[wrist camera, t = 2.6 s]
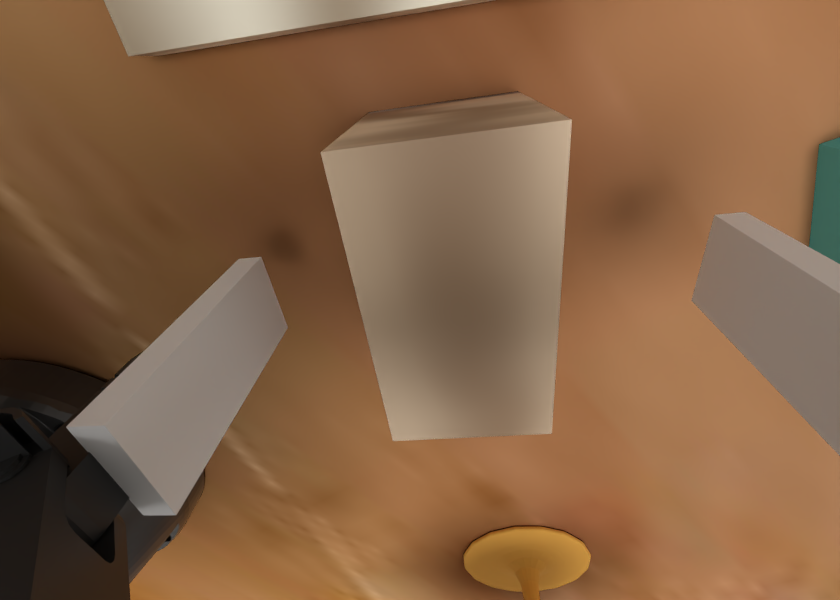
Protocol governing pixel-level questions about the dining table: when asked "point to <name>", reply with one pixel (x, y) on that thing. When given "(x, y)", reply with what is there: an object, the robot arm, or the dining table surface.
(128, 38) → the board
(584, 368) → the dining table surface
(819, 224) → the alien figure
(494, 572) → the cup
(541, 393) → the block
